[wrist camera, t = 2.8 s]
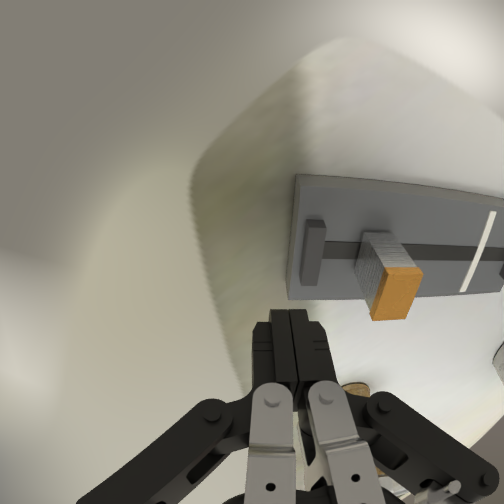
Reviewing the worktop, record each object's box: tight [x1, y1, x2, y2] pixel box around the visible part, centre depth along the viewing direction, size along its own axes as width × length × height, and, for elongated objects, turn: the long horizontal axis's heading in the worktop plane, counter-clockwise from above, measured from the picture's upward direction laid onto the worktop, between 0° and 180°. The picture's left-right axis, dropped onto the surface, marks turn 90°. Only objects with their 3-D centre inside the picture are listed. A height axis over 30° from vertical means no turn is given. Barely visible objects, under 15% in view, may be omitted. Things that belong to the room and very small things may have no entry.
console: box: [286, 174, 504, 300], centre depth 19 cm, size 20×8×3 cm, turn 89°
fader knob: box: [354, 232, 424, 321], centre depth 16 cm, size 2×3×4 cm
